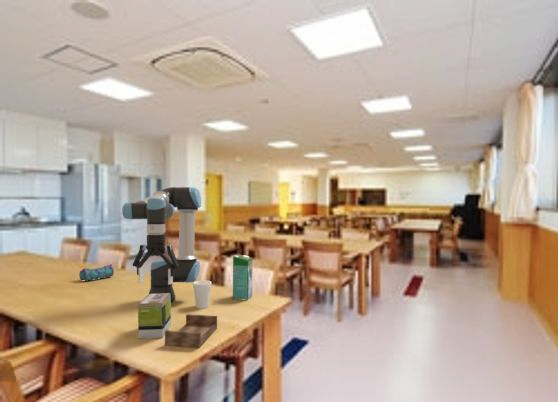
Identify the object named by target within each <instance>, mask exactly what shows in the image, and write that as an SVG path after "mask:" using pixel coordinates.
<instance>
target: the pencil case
mask: <svg viewBox="0 0 558 402" xmlns="http://www.w3.org/2000/svg"><path fill="white" fill-rule="evenodd" d="M114 274H115V273H114V267H113V264H112V263H111V264H107V265H104V266H102V267H97V268H86V267H85V268H82V269H81V270H80V271H79V273H78V275H79V279H80V281H81V280H85V281H86V282H88V281H87V280H93V279H98V278H104V277H108V278H110V277H109V276H112V277H113V275H114ZM104 279H105V278H104ZM93 281H94V280H93Z"/></svg>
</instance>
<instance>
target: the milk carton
mask: <svg viewBox="0 0 558 402" xmlns="http://www.w3.org/2000/svg"><path fill="white" fill-rule="evenodd" d="M251 296H252V297H253V258H252V257H250V255H249V256H248V255H245V254H244V255H242V254H240V253H239V254H238V253H237V254H235V255H233V256H232V300H234V299H245V300H244V301H249V300H250V299H249V298H250V297H251ZM252 297H251V298H252ZM248 299H249V300H248Z"/></svg>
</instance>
